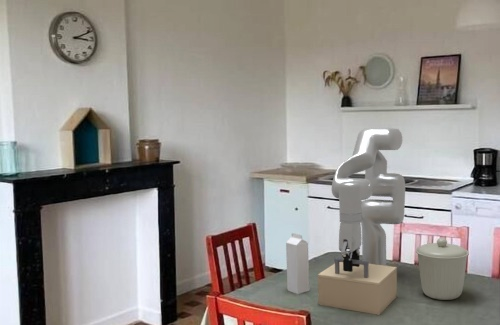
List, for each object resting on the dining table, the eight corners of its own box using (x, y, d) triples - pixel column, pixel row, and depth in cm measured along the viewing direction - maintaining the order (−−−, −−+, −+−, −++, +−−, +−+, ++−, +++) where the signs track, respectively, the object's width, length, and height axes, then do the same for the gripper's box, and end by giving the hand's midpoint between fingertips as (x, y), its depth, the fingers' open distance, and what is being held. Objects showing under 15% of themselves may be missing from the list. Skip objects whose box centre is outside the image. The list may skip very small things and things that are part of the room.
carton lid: (339, 262, 210) (339, 245, 209) (396, 269, 198) (396, 251, 198) (317, 276, 193) (317, 258, 192) (378, 285, 181) (378, 266, 181)
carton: (340, 287, 211) (339, 262, 210) (397, 296, 199) (396, 269, 198) (318, 304, 194) (317, 276, 193) (379, 314, 182) (378, 285, 181)
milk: (297, 294, 205) (296, 236, 203) (287, 290, 210) (285, 234, 208) (309, 290, 209) (308, 234, 206) (299, 287, 214) (297, 231, 211)
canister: (434, 307, 188) (434, 246, 186) (406, 290, 205) (405, 235, 203) (479, 300, 192) (480, 241, 190) (448, 285, 210) (448, 230, 208)
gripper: (349, 212, 198) (350, 261, 200) (330, 221, 183) (331, 274, 185) (369, 213, 194) (370, 263, 196) (351, 223, 179) (352, 277, 181)
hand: (351, 268), depth 190 cm, fingers open, 5 cm apart
